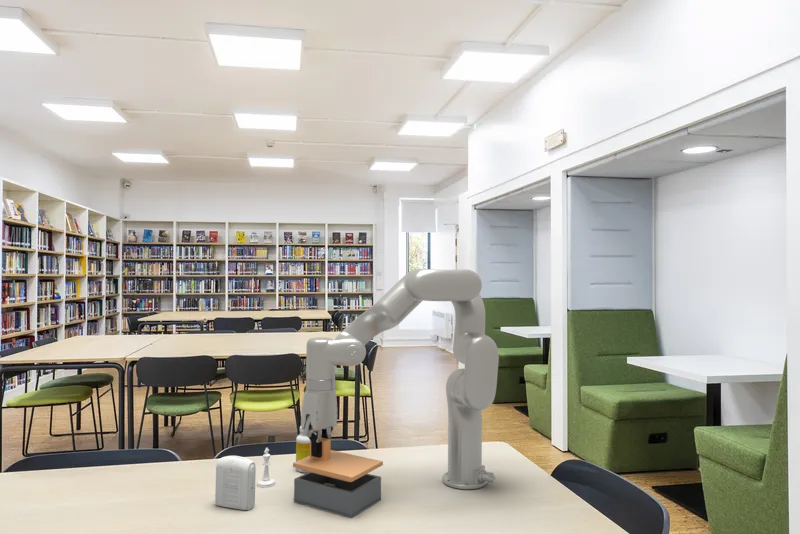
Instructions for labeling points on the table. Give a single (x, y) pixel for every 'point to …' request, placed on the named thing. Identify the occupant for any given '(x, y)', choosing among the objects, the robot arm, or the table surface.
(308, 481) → the tub
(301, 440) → the supplement bottle
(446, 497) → the table surface
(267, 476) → the chess piece
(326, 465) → the lid
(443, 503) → the table surface
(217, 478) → the photo printer
